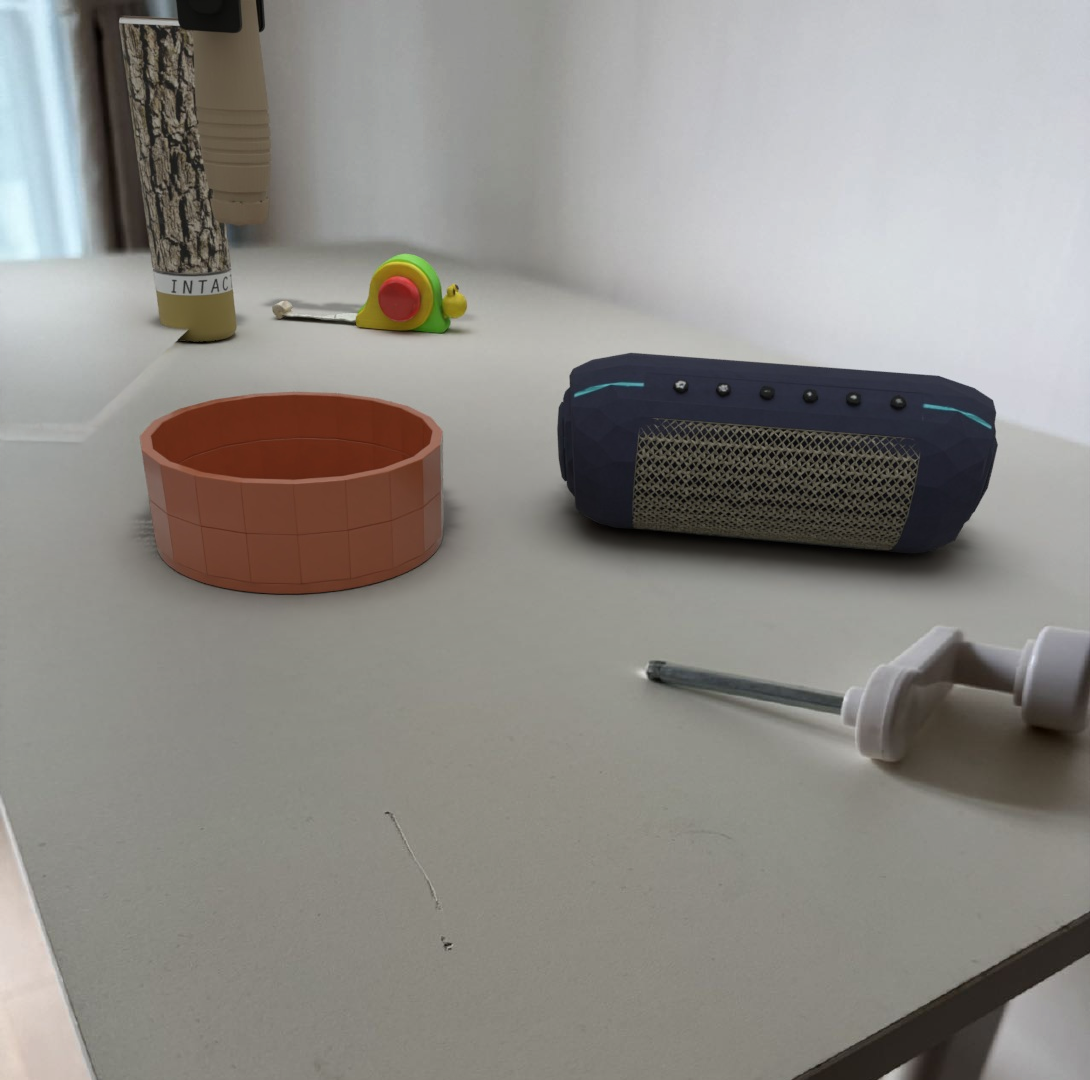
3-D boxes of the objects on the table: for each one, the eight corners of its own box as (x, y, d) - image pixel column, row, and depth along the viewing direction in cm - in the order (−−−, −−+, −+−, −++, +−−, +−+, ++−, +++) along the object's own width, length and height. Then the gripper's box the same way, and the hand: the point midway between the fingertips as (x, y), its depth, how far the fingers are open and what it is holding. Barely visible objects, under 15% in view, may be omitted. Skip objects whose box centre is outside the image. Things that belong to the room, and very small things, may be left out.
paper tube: (149, 332, 105) (103, 14, 91) (216, 324, 109) (181, 18, 95) (182, 347, 100) (140, 16, 87) (251, 338, 104) (220, 19, 91)
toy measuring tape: (458, 339, 107) (458, 265, 104) (264, 323, 110) (258, 251, 106) (474, 325, 112) (474, 254, 109) (288, 310, 115) (283, 240, 111)
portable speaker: (541, 547, 65) (548, 372, 60) (562, 488, 73) (570, 330, 68) (987, 587, 63) (1035, 408, 57) (956, 522, 71) (995, 360, 66)
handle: (293, 231, 65) (274, -90, 57) (178, 226, 64) (142, -100, 56) (300, 217, 69) (283, -84, 61) (192, 213, 68) (160, -93, 60)
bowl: (119, 590, 58) (99, 477, 55) (195, 482, 72) (183, 387, 69) (433, 598, 59) (432, 487, 55) (449, 489, 72) (449, 396, 69)
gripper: (157, -384, 59) (195, 26, 68) (32, -517, 44) (103, 26, 54) (301, -373, 59) (319, 34, 69) (224, -502, 45) (260, 36, 54)
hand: (223, 26), depth 61 cm, fingers closed on handle, 4 cm apart
